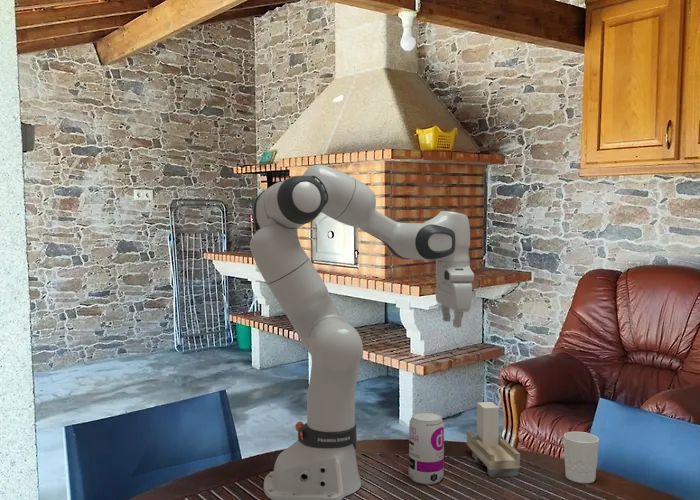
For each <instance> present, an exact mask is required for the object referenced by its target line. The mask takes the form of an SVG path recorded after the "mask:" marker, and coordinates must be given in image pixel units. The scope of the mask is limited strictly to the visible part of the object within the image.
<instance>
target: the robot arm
mask: <svg viewBox="0 0 700 500" xmlns="http://www.w3.org/2000/svg"><path fill="white" fill-rule="evenodd" d="M376 205H377V199H376V195H375V192H374V191H373V190H372V189H371V188H370V187H368V185H366V184H364V182H362V181H360V180H359V179H357V178H355V177H353V176H351V175H349V174H347V173H345V172H343V171H341V170H338V169H337V168H333V167H331V166H327V165H324V164H313V165H311V166H310V167H308V168H307V169H306V170H305V171H304V172H303V174H302V175H296V176H295V175H294V176H292V177H288V178H287V179H285V180H282V181H279V182H275V183H274V184H272V185H271V186H269V187H268V188H266V189H264V190H262V191H261V192H260V193H259V194H258V195H257V197H256V198H255V200H254V202H253V206H252V218H253V221H254V229H255V233H253V235H252V237H251V239H250V242H249V248H250V251H251V255H252V258H253V260H254V262H255V264H256V266H257V269H258V271H259V272H260V275H261V276H262V278H263V280H264V281H265V283H266V285H267V286H268V287H269V289H270V292H271V293H272V294H273V296H274V297H275V299H276V300H277V303H278V304H279V305H280V307H281V309H282V310H283V312H284V314H285V316H286V317H287V319H288V320H289V322H290V324H291V326H292V327H293V329H294V331H295V333H296V334H297V336H298V338H299V339H300V341H301V342H302V344H303V346H304V348H305V349H306V351H307V352H308V353H309V354H310V356H311V368H310V369H311V370H310V377H309V382H308V387H307V391H306V401H307V402H306V403H307V404H306V423H303V421H297V422H296V423H295V431H296V432H297V439H298V440H296V441H294V442H293V443H292V444H291V445H290V446H288V447H287V448H285V449H283V451H282V452H280V453H279V454H278V456H277V458H276V460H275V463H274V466H273V471H270V472H269V473H268V474H267V475H266V476H265V477H264V481H263V492H264V494H265V495H266V497H267V498H268V499H270V500H343V499H344V498H345V497H347V496H349V495H352V494H354V493H356V492H357V491H358V490H360V488H361V487H362V482H361V477H360V473H359V470H358V469H359V468H358V462H357V461H358V460H357V452H356V449H357V444H358V428H357V425H356V419H355V418H356V416H355V415H356V389H357V388H356V387H357V381H358V376H359V371H360V364H361V361H362V358H363V356H364V344H363V340H362V337H361V336H360V333H359V332H358V330H357V329H356V328H355V327H354V326H353V325H351V324H349V323H348V322H347V321H346V320H344V318H343V317H342V316H341V315H340V312H339V311H338V308H337V307H336V305H335V303H334V301H333V299H332V296H331V294H330V292H329V289H328V288H327V286H326V284H325V282H324V281H323V279H322V278H321V275H320V274H319V273H318V271H317V269H316V267H315V266H314V263H312V261H311V259H310V257H309V256H308V254H307V253H306V251H305V249H304V248H303V247H302V245H301V242H300V240H299V239H300V238H299V235H298V228H301V227H302V226H305V225H306V224H307V225H308V224H309V223H312V222H313V221H314V220H315V219H317V217H318V216H320V215H321V213H322V214H324V215H326V216H328V218H331V219H333V220H335V221H337V222H339V223H341V224H344V225H346V226H350V227H354V228H357V229H359V230H362V231H363V232H364V233H367V234H369V235H370V236H372V237H373V238H376V239H377V240H379V241H380V242H382V243H383V244H385V246H386V248H388V249H389V251H390V252H391V254H393V255H394V256H395V257H396V258H398V259H401V260H417V261H418V260H419V261H433V260H435V278H436V285H435V286H436V287H435V300H436V303H439V304H440V305H441V307H440V309H441V312H442V320H443V321H444V322H445V323H446V322H450V321H451V315H452V314H451V312H450V310H453V314H454V317H453V319H452V326H453V327H454V328H461V327H462V320H463V317H464V313H465V312H469V311H470V309H471V307H472V297H473V283H474V281H475V273H474V272H473V271H472V269H471V266H470V264H471V263H470V262H471V261H470V260H471V259H470V255H469V249H470V246H471V228H470V226H471V225H470V220H469V218H468V217H469V216H468V215H466V214H465V213H463V212H461V211H457V210H451V209H450V210H449V209H444V210H441V211H439V212H438V214H436V215H435V216H434V217H432V218H430V219H428V220H426V221H424V222H406V221H395V220H394V219H391V218H390V217H388V216H386V214H383V213H381V212H380V211H378V209H376V207H377V206H376ZM472 282H473V283H472Z"/></svg>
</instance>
